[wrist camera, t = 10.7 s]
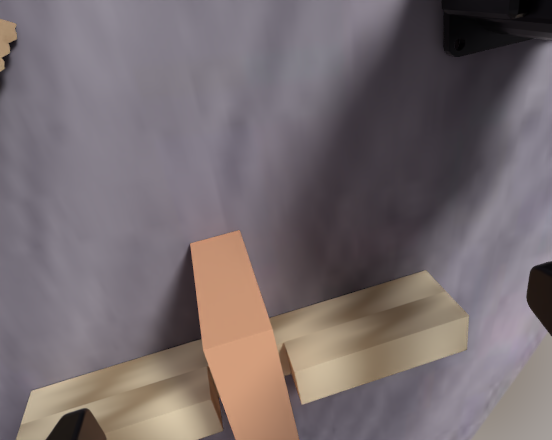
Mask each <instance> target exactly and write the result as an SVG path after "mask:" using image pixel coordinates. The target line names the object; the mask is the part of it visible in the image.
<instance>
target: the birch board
mask: <svg viewBox="0 0 552 440" xmlns="http://www.w3.org/2000/svg"><path fill="white" fill-rule="evenodd" d="M269 320H270V323H271V326H272V329H273V333H274V337H275V341H276V345H277V350H278V354H279V358H280V362H281V366H282V370H283V374H284V376H286V375H289V374H292V377H293V380H294V383H295V386H296V389H297V392H298V395H299V398H300V401H301V404H302V405H303V404H306V403H309V402H312V401H315V400H318V399H321V398H324V397H327V396H330V395H333V394H336V393H339V392H342V391H345V390H348V389H351V388H354V387H357V386H360V385H363V384H366V383H369V382H372V381H375V380H378V379H381V378H384V377H387V376H390V375H393V374H396V373H399V372H402V371H405V370H408V369H411V368H414V367H417V366H420V365H423V364H426V363H429V362H432V361H435V360H438V359H441V358H444V357H447V356H450V355H453V354H456V353H459V352H462V351H465V350H467V339H468V323H469V315H468V314H467V313H466V312H465V311H464V310H463V309H462V308H461V307H460V306H459V305H458V304H457V303H456V302H455V300H454V299H453V298H452V297H451V296H450V295H449V294H448V293H447V292H446V291H445V290H444V289H443V288H442V287H441V286H440V285H439V284H438V283H437V281H436V280H435V279H434V278H433V277H432V276H431V275H430V274H429V273H428V272H427V271H426V270H425V271H422V272H419V273H415V274H412V275H409V276H405V277H402V278H399V279H396V280H392V281H389V282H386V283H383V284H379V285H376V286H373V287H369V288H366V289H363V290H360V291H356V292H353V293H350V294H347V295H343V296H340V297H337V298H334V299H330V300H327V301H324V302H320V303H317V304H314V305H311V306H307V307H304V308H301V309H298V310H294V311H291V312H288V313H284V314H281V315H278V316H275V317H271V318H269ZM219 397H220V395H219V392H218V390H217V387H216V384H215V381H214V379H213V376H212V373H211V370H210V368H209V365H208V362H207V359H206V357H205V354H204V351H203V345H202V339H199V340H196V341H193V342H190V343H186V344H183V345H180V346H177V347H173V348H170V349H167V350H164V351H160V352H157V353H154V354H150V355H147V356H144V357H141V358H137V359H134V360H131V361H128V362H124V363H121V364H118V365H114V366H111V367H108V368H105V369H101V370H98V371H95V372H92V373H88V374H85V375H82V376H79V377H75V378H72V379H69V380H65V381H62V382H59V383H56V384H52V385H49V386H46V387H43V388H39V389H36V390H33V391H31V394H30V397H29V400H28V403H27V406H26V410H25V413H24V416H23V419H22V422H21V425H20V428H19V432H18V435H17V438H16V440H46V438H47V437H48V436H49V434H50V433H51V431H52V430H53V428H54V427H55V425H56V424H57V423H58V421H59V420H60V418H61V417H62V416H63V415H65V414H67V413H69V412H73V411H76V410H79V409H82V408H87V409H89V410H90V411H91V412H92V414H93V415H94V417H95V419H96V420H97V422H98V423H99V425H100V427H101V428H102V430H103V431H104V433H105V435H106V438H107V440H198V439H201V438H204V437H207V436H210V435H213V434H216V433H219V432H222V431H223V425H222V418H221V411H220V404H219Z"/></svg>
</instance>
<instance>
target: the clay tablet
mask: <svg viewBox="0 0 552 440" xmlns="http://www.w3.org/2000/svg"><path fill="white" fill-rule="evenodd" d="M16 25H17V24H15V23H12V22H9V21H5V20H2V19H0V72H1V71H2V70H3V69H5V68H4V60H3V59H2V57H4V56H5V55H7V54H9V53H10V46H9V44H8V43H10V42H12V41H14V40H16V39H17V33H16V31H15V27H16Z"/></svg>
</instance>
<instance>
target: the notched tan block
mask: <svg viewBox="0 0 552 440" xmlns="http://www.w3.org/2000/svg"><path fill="white" fill-rule="evenodd" d="M190 246H191V254H192V262H193V271H194V279H195V287H196V295H197V304H198V312H199V320H200V329H201V337H202V345H203V351H204V354H205V357H206V359H207V362H208V365H209V368H210V370H211V373H212V376H213V379H214V381H215V384H216V387H217V390H218V392H219V395H220V398H221V401H222V403H223V406H224V409H225V412H226V414H227V417H228V420H229V423H230V425H231V428H232V431H233V434H234V436H235V439H236V440H299V437H298V432H297V428H296V424H295V420H294V416H293V412H292V408H291V403H290V399H289V395H288V391H287V387H286V383H285V379H284V374H283V370H282V366H281V362H280V358H279V354H278V350H277V345H276V341H275V337H274V333H273V329H272V326H271V323H270V320H269V317H268V314H267V311H266V308H265V305H264V302H263V299H262V296H261V293H260V290H259V287H258V284H257V281H256V278H255V275H254V272H253V269H252V266H251V263H250V260H249V257H248V254H247V251H246V248H245V245H244V242H243V239H242V236H241V233H240V230H238V231H234V232H231V233H227V234H223V235H220V236H216V237H212V238H209V239H205V240H201V241H198V242H194V243H190Z"/></svg>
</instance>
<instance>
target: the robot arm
mask: <svg viewBox="0 0 552 440" xmlns="http://www.w3.org/2000/svg"><path fill="white" fill-rule="evenodd" d="M442 9H443V10H444V51H445V52H446V54H448V55H450V56H454V57H460V56H464V55H468V54H472V53H477V52H481V51H485V50H489V49H493V48H497V47H501V46H505V45H509V44H513V43H517V42H521V41H525V40H529V39H533V38H536V39H543V40H551V41H552V0H442ZM457 39H459V41H460V43H459V46H458V47H457V48H456V49H455V48H454V44H455V42H456V40H457ZM526 298H527V302H528V305H529V307H530V309H531V310H532V311H533V313H534V314H535V315H536V317H537V318H538V319H539V320H540V322H541V323H542V324H543V326H544V327H545V328H546V330H547V331H548V332H549V333H550V335H551V336H552V261H551V262H546V263H543V264H540V265H537V266H534V267H533V268H532V269H531V271H530V275H529V282H528V289H527V296H526ZM46 440H107V438H106V435H105V433H104V431H103V430H102V428H101V427H100V425H99V423H98V422H97V420H96V419H95V417H94V415H93V414H92V412H91V411H90V410H89V409H87V408H82V409H79V410H76V411H73V412H69V413H67V414H65V415H63V416H62V417H61V418H60V420H59V421H58V423H57V424H56V425H55V427H54V428H53V430H52V431H51V433H50V434H49V436H48V437H47V438H46Z"/></svg>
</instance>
